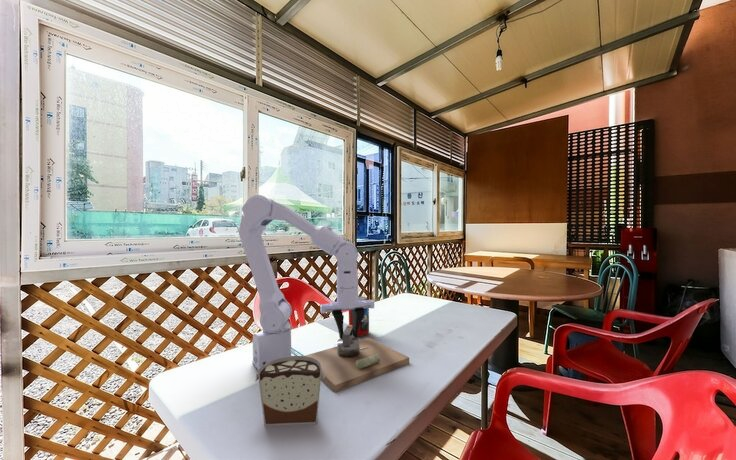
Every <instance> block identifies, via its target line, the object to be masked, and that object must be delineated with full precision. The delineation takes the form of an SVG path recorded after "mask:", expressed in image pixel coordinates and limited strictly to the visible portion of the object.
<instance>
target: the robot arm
mask: <svg viewBox="0 0 736 460" xmlns="http://www.w3.org/2000/svg"><path fill="white" fill-rule="evenodd" d="M241 212H242V213H241V218H240V222H239V226H238V227H239V229H238V236H239V239H240V242H241V244H242V248H243V251H244V253H245V257H246V260H247V263H248V266H249V268H250V272H251V274H252V278H253V281H254V283H255V286H256V289H257V293H258V295H259V302H258V309H259V311H260V316H259V322H260V323H259V324H260V326H261V328H262V330H260V331H258V332H256V333H255V332H254V333H253V335H252V361H251V362H252V365H254V366H255V368H256V369H257V371H258V370H259V368H261V367H262V366H263V365H265V364H266V363H268V362H270V361H273V360H275V359H278V358H282V357H288V356H292V353H291V351H292V349H291V347H292V324H291V323H290V321H289V319H290V317H291V315H292V313H293V309H292V305H291V304H290V303H289V302H288V301H287V299H286V298H285V295H284V293H283V292H282V291H281V289H280V288H279V285H278V281H277V278H276V276H275V273H274V269H273V267H272V264H271V261H270V258H269V254H268V252H267V249H266V247H265V246H266V245H265V244H264V243H265V242H264V240H263V236H262V234H263V233H264V231H265V230H266V228H267V226H268V225H269V224H270V223H271V222H272V221H273V222H274V220H276V221H283V222H286V224H287V223H288V224H289V225H291V226H293V227H294V228H295V229H297V230H299V231H301V232H302V233H304V234H306V235H307V236H309V238H310V241H311V244H312V245H314V246H316V248H319V249H321V250H322V251H323V252H325V253H327V254H328V255H330V256H335V258H336V259H335V260H336V262H337V264H336V265H337V269H336V301H335V302H330V303H322V304H320V305H319V306H320V308H319V309H320V313H321V314H326V313H331V314H332V316H333V318H334V321H335V323H336V326H337V330H338V335H339V339H343V337H342V334H343V333H344V317H345V315H344V314H343V312H344V311H349V310H352V318H353V336H354V337H355V338H357V337H358V336H357V334H358V329H359V326H360V323H361V320H362V318H363V316H364V314H365V311H364V309H365V308H369V309H375V301H374V300H373V299H367V300H358V296H359V271H358V270H359V269H358V268H357V267H358V262H357V260H358V258H359V253H358V249H357V247H356V245H355V244H354V243H353V242H351V241H349V240H347V237H345V236H343V237H342V236H341V235H339V234H338V233H336V232H335V231H333V228H332V227H331V226H329V225H328V226H326V225H319V226H318V225H314V223H312V222H311V221H309V220H307V218H305V217H303V216H302V215H300V214H299V213H298V212H296V211H295V210H293V209H291V208H290V207H288V206H286V205H284V204H282V203H280V202H277V201H275V200H274V199H271V198H268V197H266V196H264V195H262V194H261V195H260V194H255V195H252V196H250V197H249V198H248V199H247V200H246V201H245V203H244V204H243V206H242V207H241Z"/></svg>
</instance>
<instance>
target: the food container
mask: <svg viewBox="0 0 736 460" xmlns="http://www.w3.org/2000/svg"><path fill="white" fill-rule="evenodd" d="M321 373H322V375H323V379H324V378H325V376H324V372H323V367H322V366H321V363H320V362H319V361H318V360H317V359H315V358H312V357H308V356H305V355H304V356H302V355H298V356H296V355H291V356H288V357H282V358H278V359H275V360H273V361H270V362H268V363H266V364H265V365H263V366H262V367H261V368H259V370H258V369H257V373H256V375H255V381H254V382H255V383H256V382H257V381H258V386H259V392H260V401H261V408H262V415H263V416H262V417H263V423H264V424H263V425H264V427H267V426H268V427H269V426H287V425H288V426H291V425H293V426H294V425H316V424H318V416H319V415H318V413H319V404H320V402H319V401H320V392H321V391H320V390H321V382H322V380H321Z"/></svg>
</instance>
